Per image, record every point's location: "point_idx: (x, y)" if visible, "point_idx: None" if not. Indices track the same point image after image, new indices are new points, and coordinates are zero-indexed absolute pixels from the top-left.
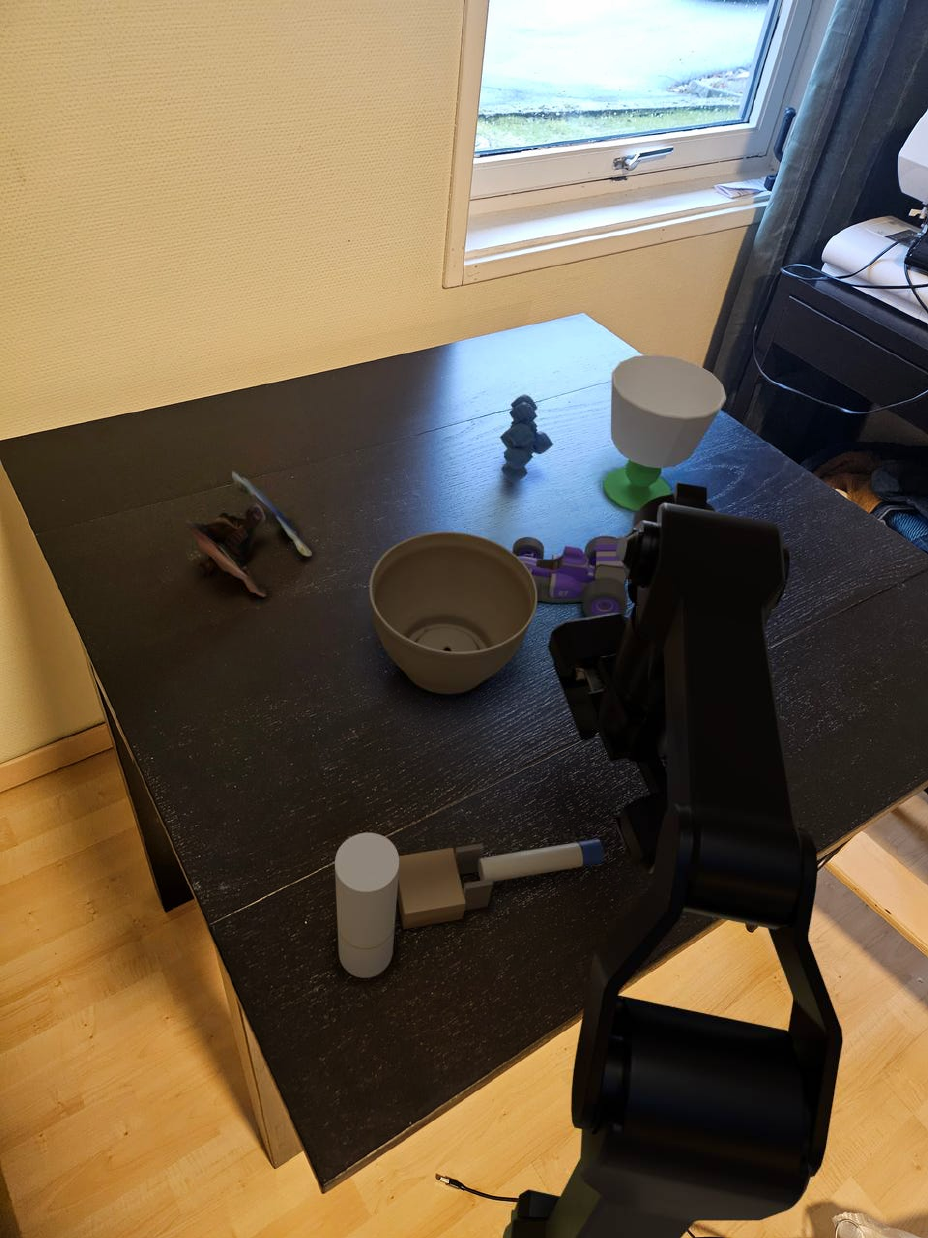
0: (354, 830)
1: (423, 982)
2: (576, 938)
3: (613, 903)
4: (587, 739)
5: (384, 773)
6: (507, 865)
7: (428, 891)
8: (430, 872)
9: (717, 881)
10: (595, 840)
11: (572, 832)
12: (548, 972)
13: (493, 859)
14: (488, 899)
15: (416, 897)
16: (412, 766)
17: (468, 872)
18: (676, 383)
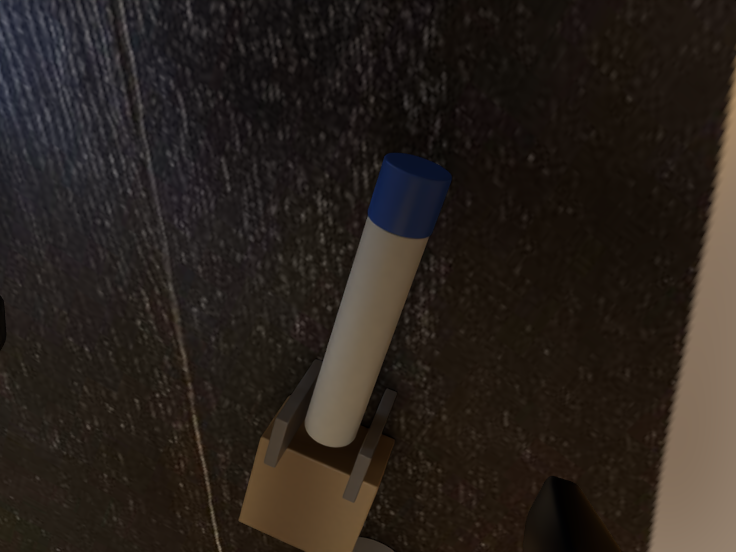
0: (173, 473)
1: (459, 543)
2: (557, 291)
3: (541, 161)
4: (2, 321)
5: (84, 379)
6: (345, 402)
7: (324, 520)
8: (291, 497)
9: None
10: (389, 179)
11: (332, 131)
12: (579, 382)
13: (319, 417)
14: (388, 415)
15: (325, 539)
16: (82, 331)
17: None
18: None
